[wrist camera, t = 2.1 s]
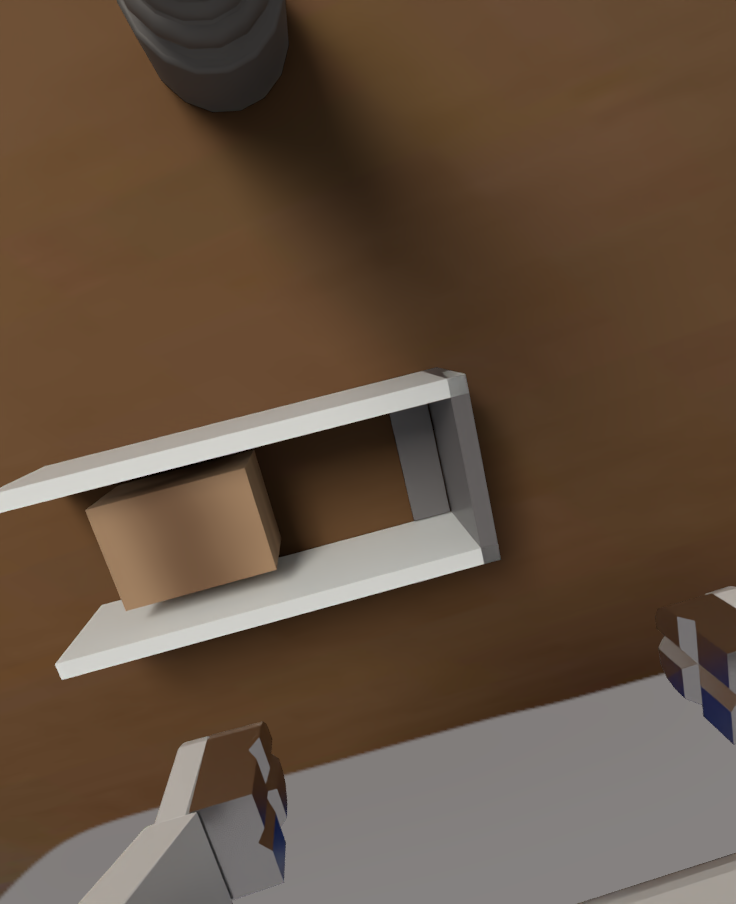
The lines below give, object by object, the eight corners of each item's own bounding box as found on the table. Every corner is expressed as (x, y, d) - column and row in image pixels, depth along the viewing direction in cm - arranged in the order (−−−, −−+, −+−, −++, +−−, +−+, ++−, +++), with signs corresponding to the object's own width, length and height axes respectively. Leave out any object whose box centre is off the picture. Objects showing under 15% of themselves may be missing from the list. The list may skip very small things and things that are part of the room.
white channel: (436, 367, 26) (465, 374, 21) (467, 520, 28) (500, 559, 23) (44, 466, 25) (-20, 497, 20) (107, 618, 27) (62, 679, 22)
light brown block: (254, 448, 26) (244, 468, 22) (281, 536, 27) (276, 569, 23) (119, 484, 26) (85, 510, 22) (152, 571, 27) (125, 611, 23)
